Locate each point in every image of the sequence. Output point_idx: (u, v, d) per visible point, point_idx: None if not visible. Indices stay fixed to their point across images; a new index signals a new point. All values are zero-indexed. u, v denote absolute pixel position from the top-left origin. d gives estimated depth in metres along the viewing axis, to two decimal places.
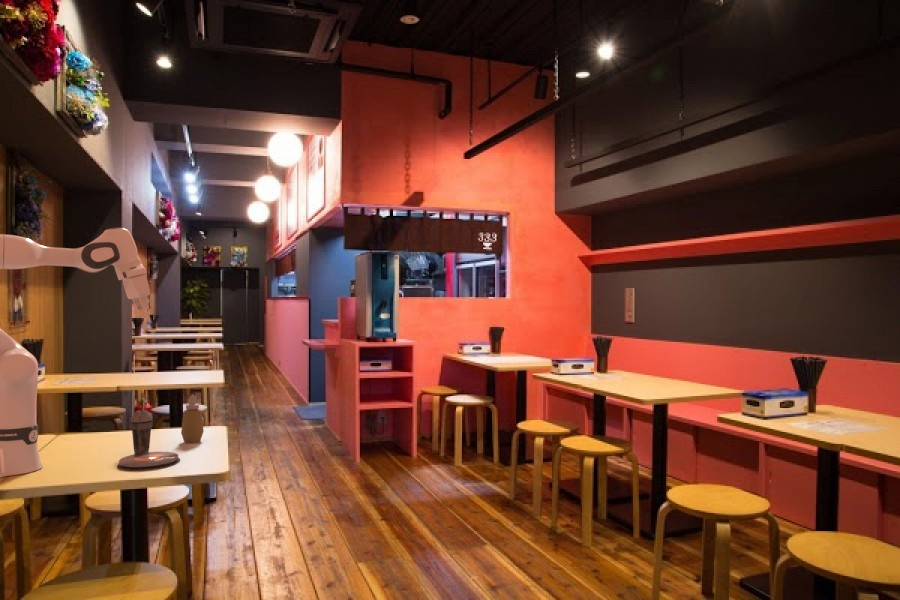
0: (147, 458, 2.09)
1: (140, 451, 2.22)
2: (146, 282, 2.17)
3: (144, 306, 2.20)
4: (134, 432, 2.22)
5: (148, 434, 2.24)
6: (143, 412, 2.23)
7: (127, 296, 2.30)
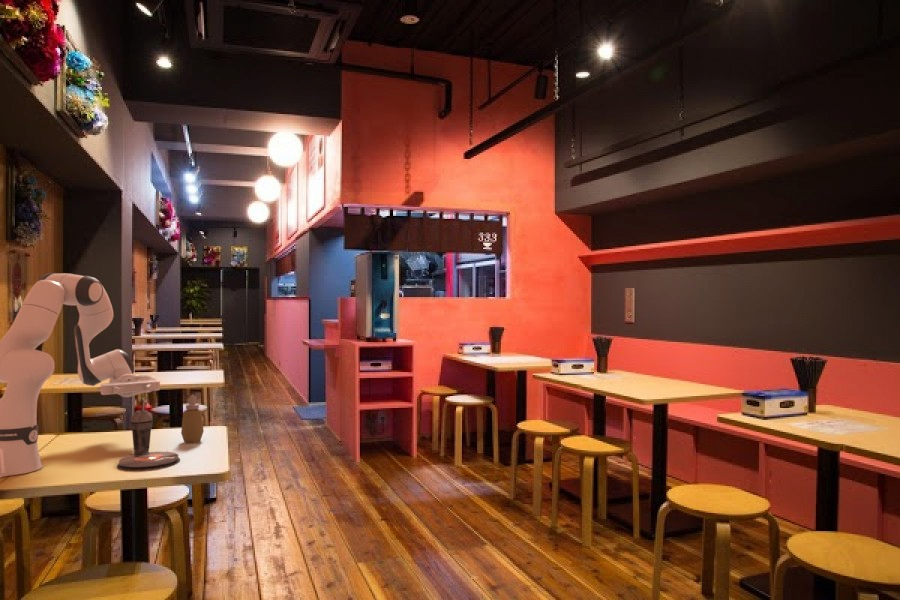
0: (147, 458, 2.09)
1: (140, 451, 2.22)
2: None
3: None
4: (134, 432, 2.22)
5: (148, 434, 2.24)
6: (143, 412, 2.23)
7: (105, 384, 2.33)
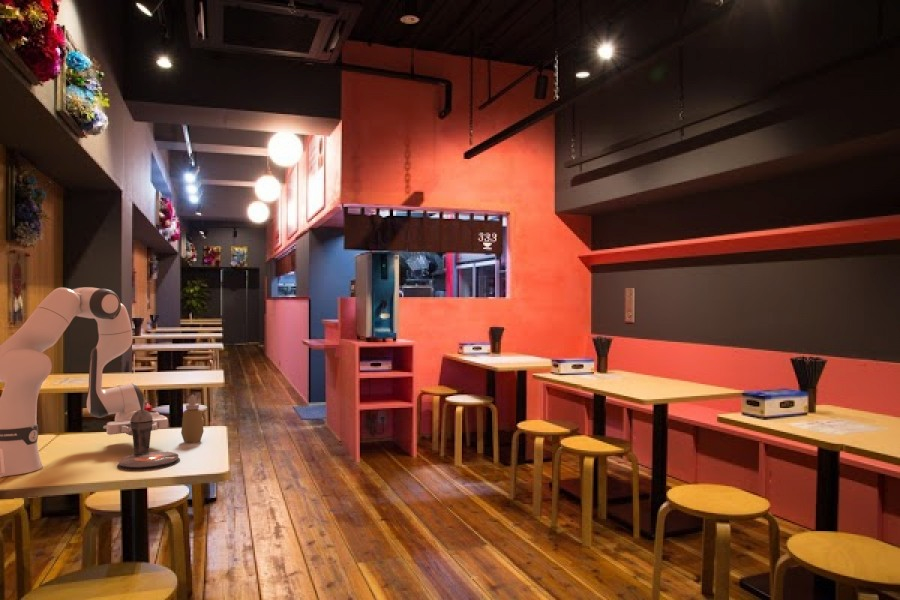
0: (147, 458, 2.09)
1: (140, 451, 2.22)
2: None
3: None
4: (134, 432, 2.22)
5: (148, 434, 2.24)
6: (143, 412, 2.23)
7: (111, 424, 2.23)
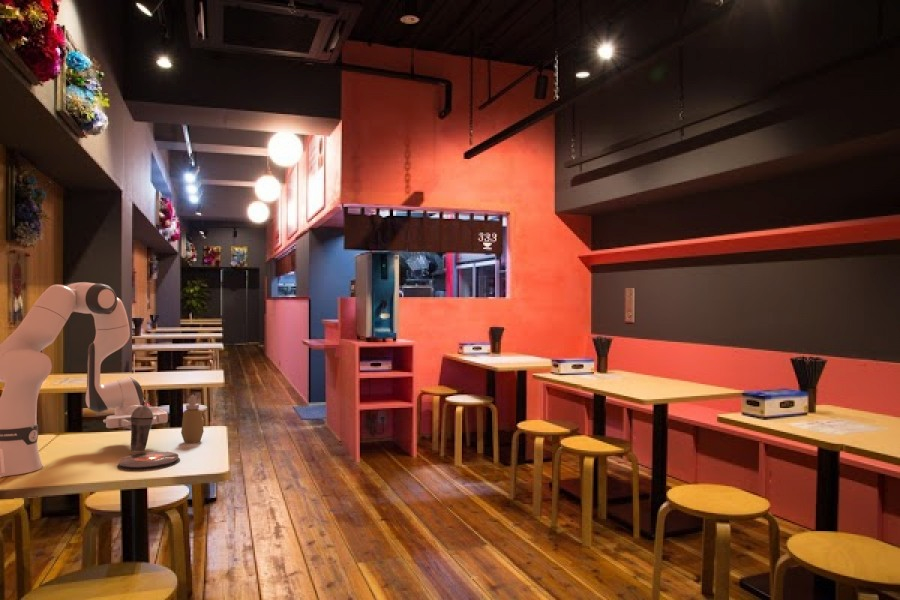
0: (147, 458, 2.09)
1: (137, 447, 2.21)
2: None
3: None
4: (133, 427, 2.21)
5: (147, 431, 2.24)
6: (145, 408, 2.23)
7: (111, 417, 2.23)
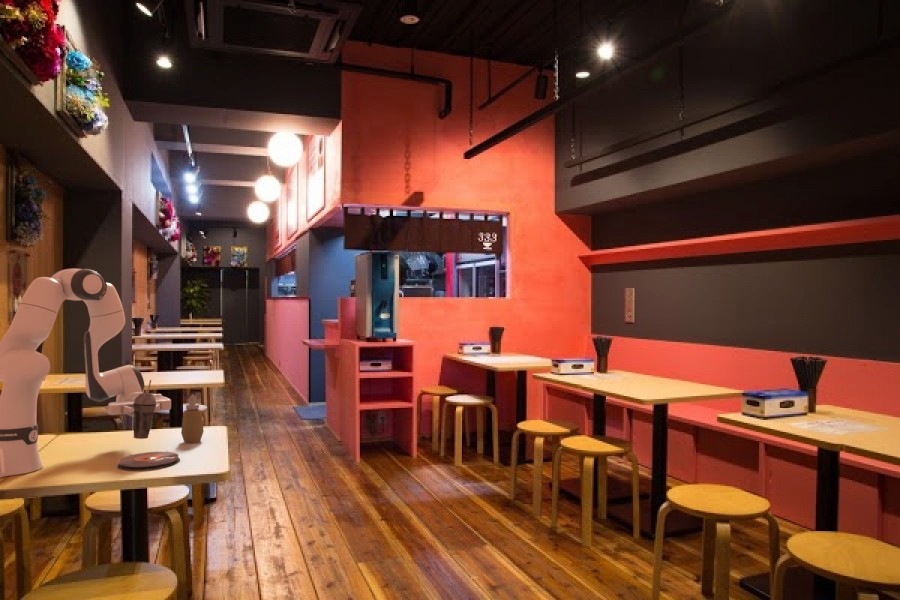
0: (147, 458, 2.09)
1: (140, 434, 2.17)
2: None
3: None
4: (136, 414, 2.17)
5: (150, 418, 2.19)
6: (148, 395, 2.19)
7: (113, 404, 2.18)
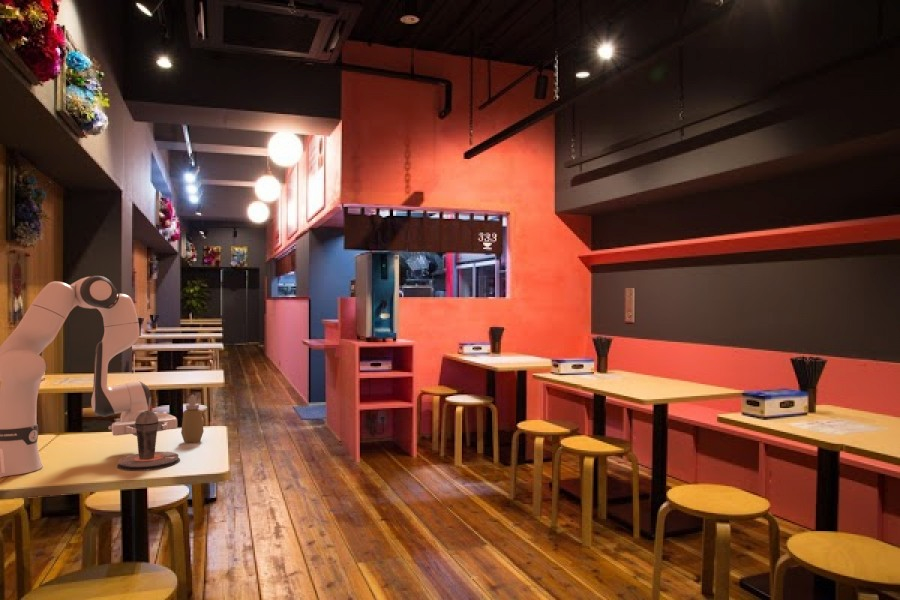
0: None
1: (145, 455, 2.08)
2: None
3: None
4: (139, 434, 2.08)
5: (154, 437, 2.10)
6: (149, 413, 2.09)
7: (117, 424, 2.09)
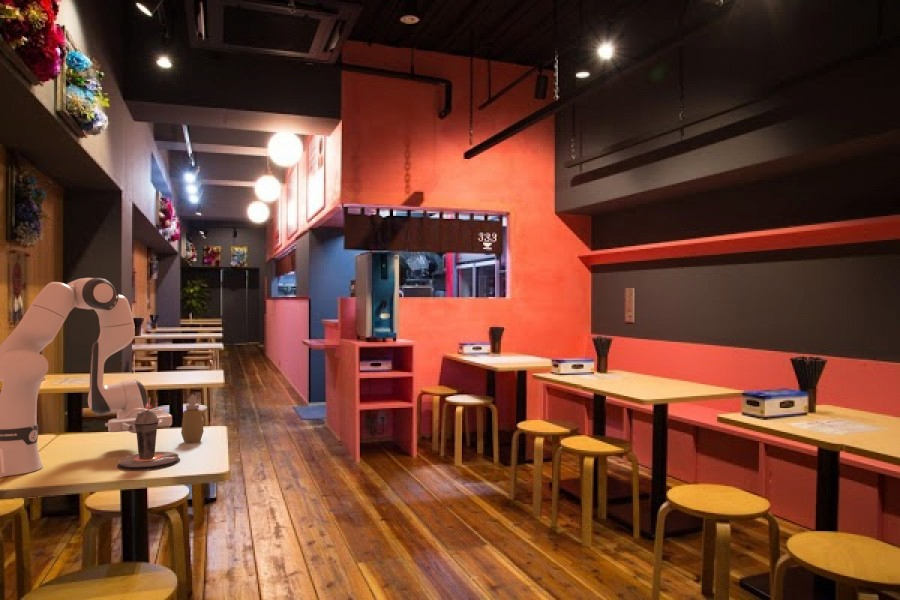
0: None
1: (145, 455, 2.08)
2: None
3: None
4: (139, 435, 2.08)
5: (154, 437, 2.10)
6: (148, 413, 2.09)
7: (113, 421, 2.15)
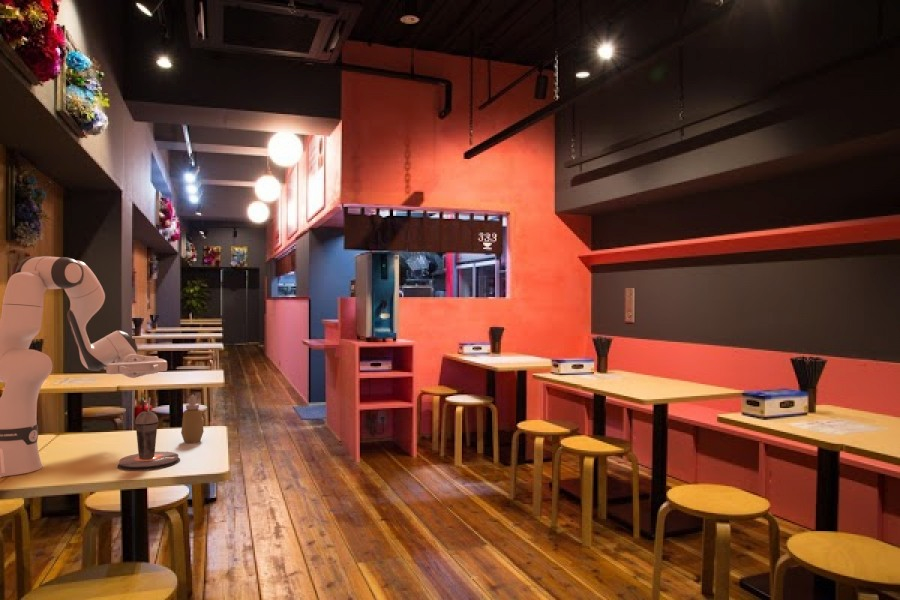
0: None
1: (145, 455, 2.08)
2: None
3: None
4: (139, 435, 2.08)
5: (154, 437, 2.10)
6: (148, 413, 2.09)
7: (111, 364, 2.26)
